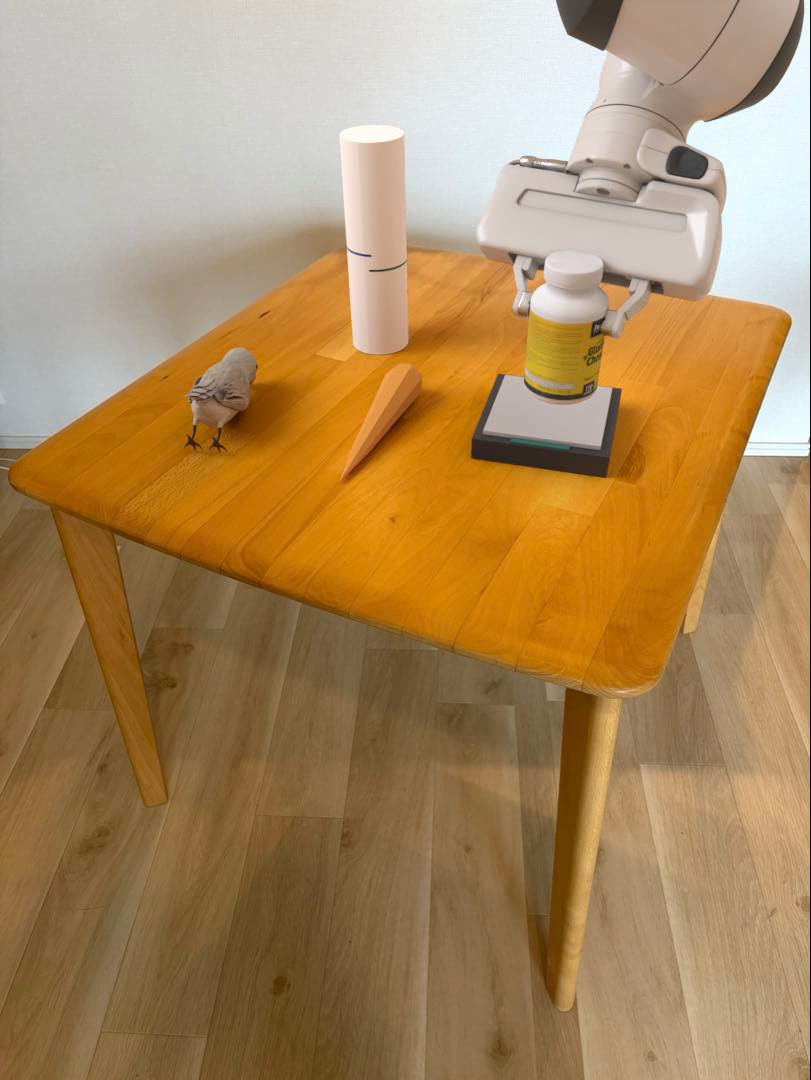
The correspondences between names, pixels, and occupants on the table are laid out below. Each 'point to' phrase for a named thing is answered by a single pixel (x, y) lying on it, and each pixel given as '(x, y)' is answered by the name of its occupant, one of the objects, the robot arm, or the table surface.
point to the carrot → (385, 410)
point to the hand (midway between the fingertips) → (565, 325)
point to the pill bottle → (566, 330)
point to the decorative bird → (222, 392)
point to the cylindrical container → (376, 236)
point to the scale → (546, 429)
